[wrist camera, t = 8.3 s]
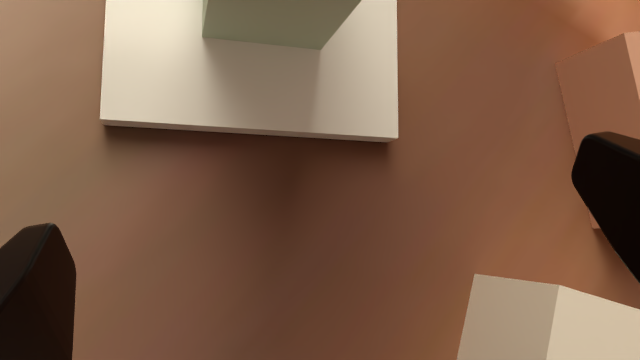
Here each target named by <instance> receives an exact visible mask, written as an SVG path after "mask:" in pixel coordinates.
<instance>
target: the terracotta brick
mask: <svg viewBox="0 0 640 360" xmlns="http://www.w3.org/2000/svg"><path fill="white" fill-rule="evenodd" d="M555 67H556V71H557V76H558V80H559V84H560V89H561V93H562V98H563V102H564V106H565V111H566V115H567V120H568V124H569V128H570V133H571V137H572V142H573V146H574V151H575V155H576V156H577V153H578V149H579V146H580V143H581V141H582V139H583V138H584V137H585V136H586V135H588V134H592V133H598V132H604V131H610V132H614V133H618V134H622V135H625V136H629V137H632V138H636V139H640V31H638V32H629V33H623V34H621V35H619V36H616V37H614V38H612V39H609V40H607V41H605V42H603V43H600V44H598V45H596V46H594V47H591V48H589V49H587V50H584V51H582V52H580V53H578V54H575V55H573V56H571V57H568V58H566V59H564V60H562V61H559V62H557V63H555ZM588 212H589V217H590V221H591V225H592V228H600V227H599V225H598V224H597V222H596V220H595V219H594V217H593V216H592V214H591V212H590V211H589V209H588Z"/></svg>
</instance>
